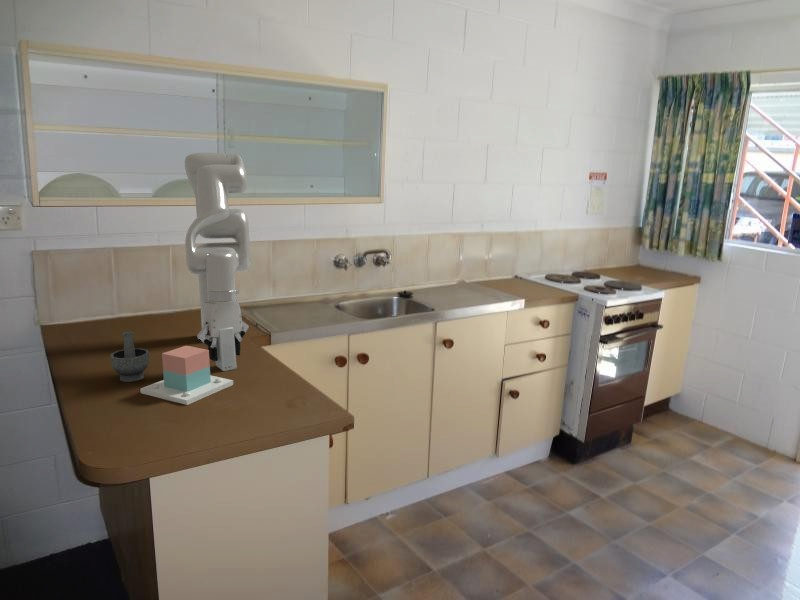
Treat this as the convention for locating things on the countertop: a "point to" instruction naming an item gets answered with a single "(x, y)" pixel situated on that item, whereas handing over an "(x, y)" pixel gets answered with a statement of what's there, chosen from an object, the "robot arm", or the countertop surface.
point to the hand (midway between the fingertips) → (225, 356)
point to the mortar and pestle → (130, 360)
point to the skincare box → (226, 350)
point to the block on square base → (186, 377)
